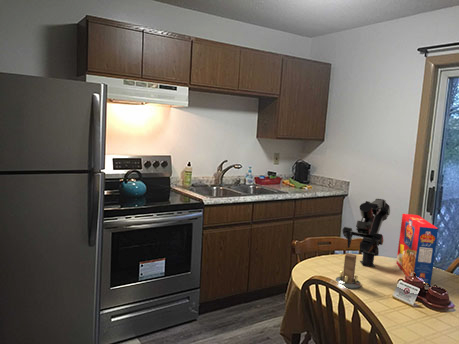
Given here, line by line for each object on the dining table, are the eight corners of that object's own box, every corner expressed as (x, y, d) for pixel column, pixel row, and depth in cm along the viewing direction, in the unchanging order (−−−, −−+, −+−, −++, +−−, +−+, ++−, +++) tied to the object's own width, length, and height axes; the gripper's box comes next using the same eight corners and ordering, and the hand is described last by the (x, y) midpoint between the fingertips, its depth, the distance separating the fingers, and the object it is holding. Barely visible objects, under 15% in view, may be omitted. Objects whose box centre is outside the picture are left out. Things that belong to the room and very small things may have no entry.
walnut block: (345, 278, 174) (347, 253, 172) (353, 281, 172) (356, 255, 170) (342, 281, 170) (345, 255, 169) (351, 283, 168) (354, 257, 167)
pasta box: (396, 263, 204) (402, 213, 200) (411, 265, 202) (418, 215, 199) (412, 284, 176) (419, 226, 173) (430, 286, 175) (438, 228, 171)
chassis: (339, 276, 179) (340, 267, 178) (363, 283, 173) (364, 273, 172) (332, 283, 170) (333, 274, 169) (356, 291, 164) (357, 281, 163)
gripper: (345, 210, 185) (335, 236, 178) (384, 218, 175) (376, 246, 167) (348, 223, 193) (339, 248, 185) (386, 231, 182) (378, 258, 175)
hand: (357, 250), depth 178 cm, fingers open, 9 cm apart
